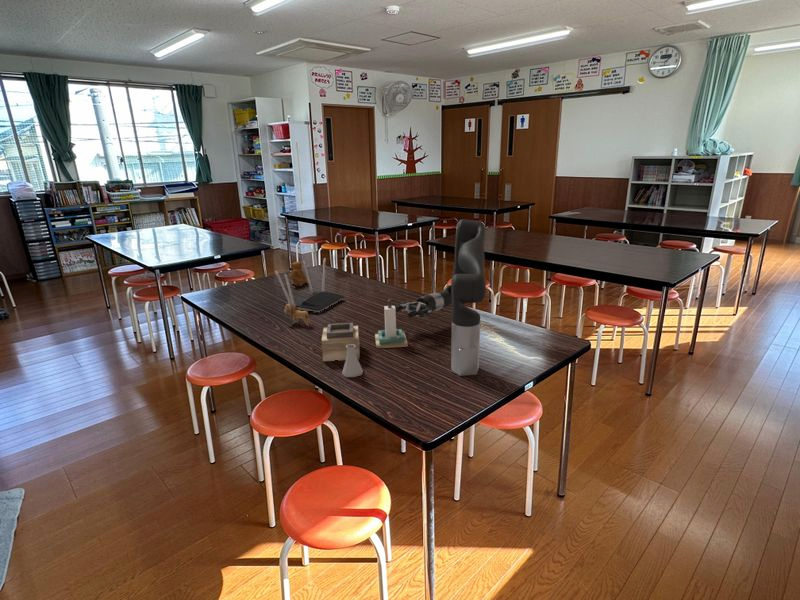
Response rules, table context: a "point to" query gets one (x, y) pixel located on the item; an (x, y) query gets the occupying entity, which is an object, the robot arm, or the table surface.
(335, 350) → the upper dock
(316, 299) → the wireless router
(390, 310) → the plug
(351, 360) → the flask
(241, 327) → the table surface
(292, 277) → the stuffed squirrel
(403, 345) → the lower socket
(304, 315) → the lion figurine
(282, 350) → the table surface
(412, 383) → the table surface
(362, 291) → the table surface
